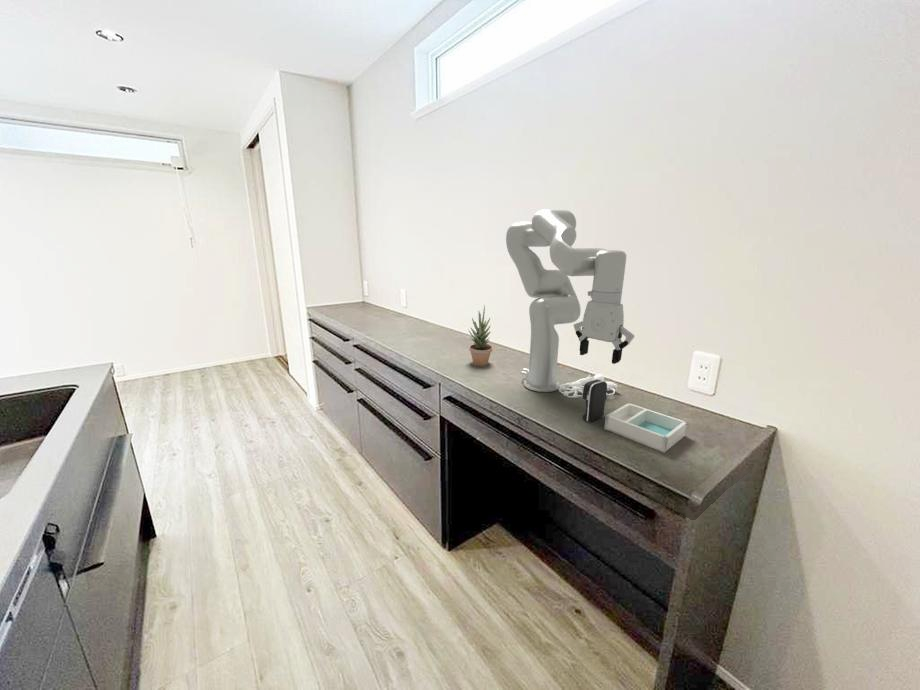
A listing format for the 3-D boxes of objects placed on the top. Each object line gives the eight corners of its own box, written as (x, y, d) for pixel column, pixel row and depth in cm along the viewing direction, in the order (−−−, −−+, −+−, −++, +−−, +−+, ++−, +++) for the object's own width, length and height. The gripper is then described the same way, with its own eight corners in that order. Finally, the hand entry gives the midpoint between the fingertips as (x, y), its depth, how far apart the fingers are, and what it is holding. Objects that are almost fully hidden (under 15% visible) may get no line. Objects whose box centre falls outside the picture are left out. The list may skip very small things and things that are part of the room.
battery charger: (593, 412, 116) (597, 376, 113) (604, 417, 113) (608, 380, 110) (578, 418, 113) (581, 381, 109) (589, 423, 110) (593, 385, 106)
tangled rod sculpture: (573, 407, 123) (574, 396, 121) (550, 387, 136) (551, 377, 134) (624, 399, 128) (626, 388, 127) (597, 380, 141) (599, 370, 140)
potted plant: (480, 368, 154) (482, 307, 147) (464, 363, 161) (465, 304, 154) (497, 363, 161) (499, 304, 154) (481, 358, 167) (482, 301, 161)
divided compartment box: (604, 428, 106) (605, 415, 105) (626, 415, 115) (628, 402, 114) (664, 452, 95) (666, 438, 94) (684, 435, 103) (687, 422, 102)
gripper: (570, 295, 107) (564, 353, 112) (631, 303, 95) (622, 369, 99) (584, 292, 112) (579, 349, 117) (644, 300, 99) (635, 363, 104)
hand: (599, 358), depth 108 cm, fingers open, 9 cm apart
